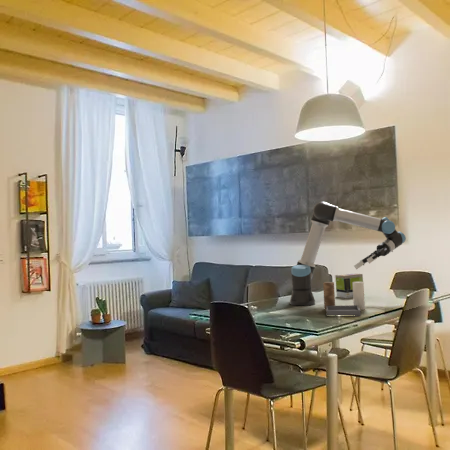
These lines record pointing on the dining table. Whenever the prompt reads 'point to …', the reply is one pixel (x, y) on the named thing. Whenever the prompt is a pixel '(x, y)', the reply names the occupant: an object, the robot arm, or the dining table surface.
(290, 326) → the dining table surface
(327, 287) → the walnut pillar
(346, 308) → the tray
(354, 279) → the tea box
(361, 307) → the cream pillar
